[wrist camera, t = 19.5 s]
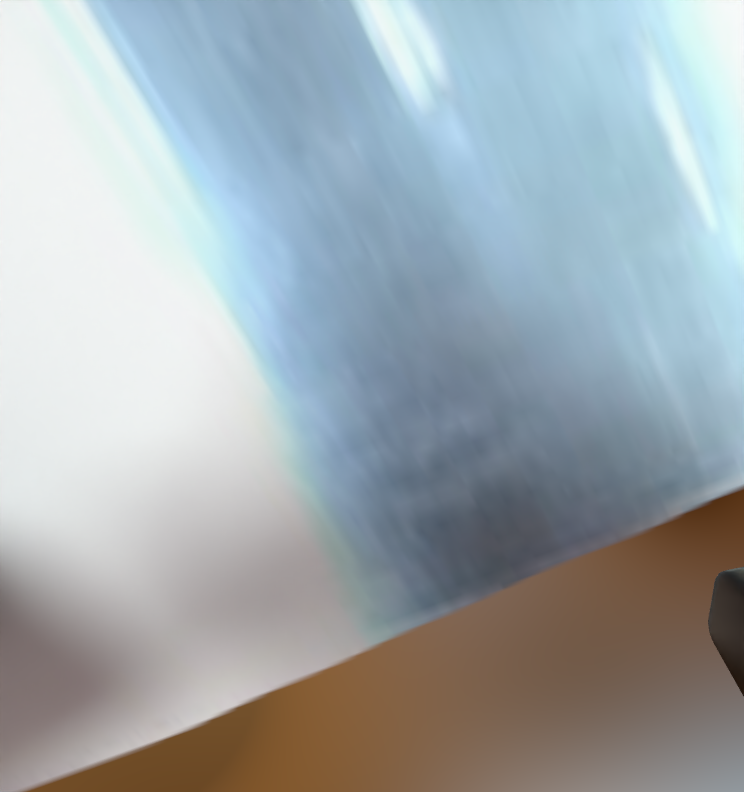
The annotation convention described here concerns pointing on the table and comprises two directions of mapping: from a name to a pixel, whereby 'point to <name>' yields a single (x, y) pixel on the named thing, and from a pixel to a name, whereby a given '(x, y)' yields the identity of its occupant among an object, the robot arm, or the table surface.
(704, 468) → the table surface
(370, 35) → the table surface
